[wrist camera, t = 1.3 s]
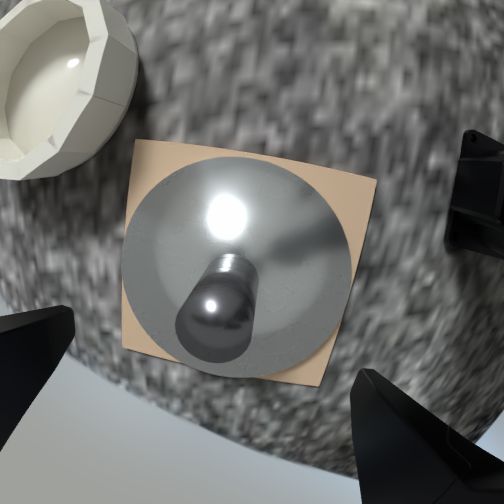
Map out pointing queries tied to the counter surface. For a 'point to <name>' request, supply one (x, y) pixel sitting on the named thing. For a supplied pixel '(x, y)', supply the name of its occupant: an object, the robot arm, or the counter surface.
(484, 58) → the counter surface
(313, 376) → the mat
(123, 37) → the bowl
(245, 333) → the lid
